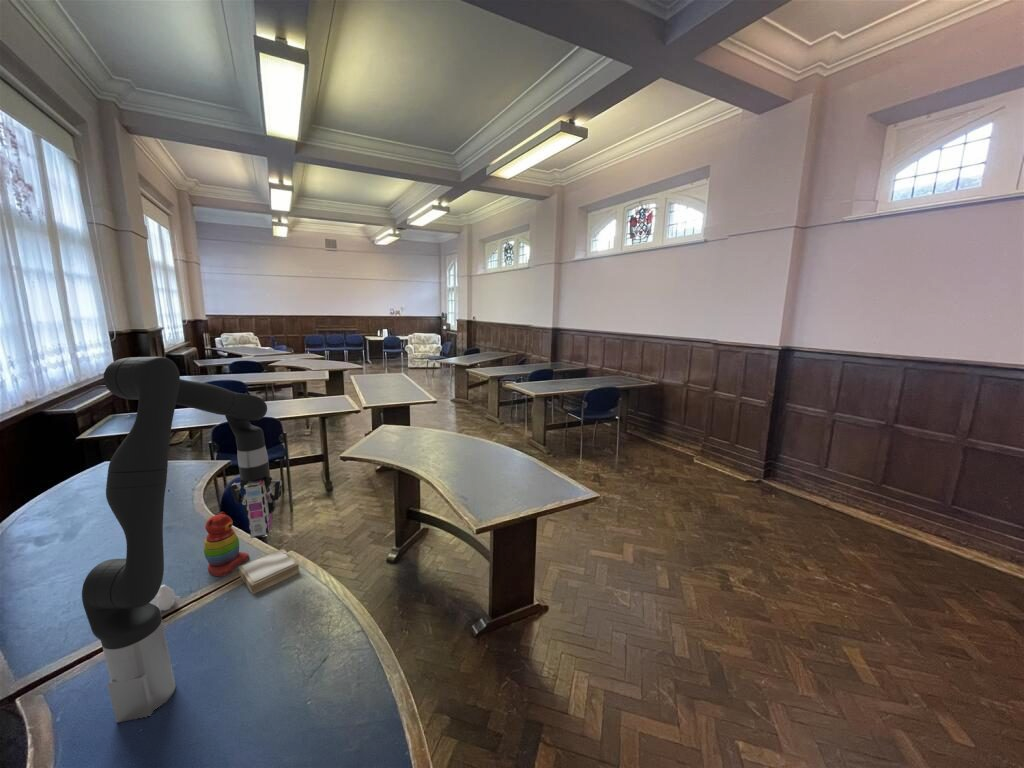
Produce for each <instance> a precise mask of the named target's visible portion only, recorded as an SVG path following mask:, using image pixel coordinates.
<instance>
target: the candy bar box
mask: <svg viewBox="0 0 1024 768" xmlns="http://www.w3.org/2000/svg"><path fill="white" fill-rule="evenodd" d="M243 490H244V495H245V499H246V507H247V514H248V516H247V520H248V521H247V522H248V529H249V534H250V535H249V536H250V539H255V538H260V537H265V536H269V535H270V531H271V526H272V522H273V518H274V517H273V513H271V514H269V510H268V501H267V496H266V492H267V490H266V487H265V482H264V480H255V481H247V482H246V484H245V486H244V489H243Z"/></svg>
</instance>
